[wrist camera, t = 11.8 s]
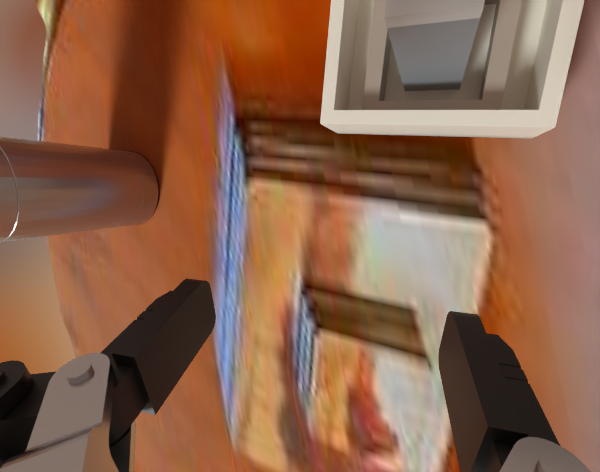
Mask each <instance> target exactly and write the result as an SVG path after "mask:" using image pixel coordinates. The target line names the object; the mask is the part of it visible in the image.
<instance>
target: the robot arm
mask: <svg viewBox="0 0 600 472" xmlns="http://www.w3.org/2000/svg"><path fill="white" fill-rule="evenodd" d="M157 201H158V183H157V179H156V176H155V173H154V171H153V169H152V167H151V165H150V164H149V162H148V161H147V160H146V159H145V158H144V157H142V156H141V155H139V154H137V153H134V152H129V151H120V150H111V149H103V148H95V147H87V146H78V145H69V144H60V143H52V142H43V141H34V140H26V139H17V138H8V137H0V242H5V241H12V240H20V239H28V238H36V237H43V236H51V235H59V234H67V233H74V232H82V231H90V230H97V229H105V228H113V227H121V226H128V225H136V224H141V223H144V222H146V221H147V220H148V219H149V218H150V217H151V216H152V214H153V213H154V211H155V208H156V206H157ZM215 319H216V315H215V309H214V304H213V299H212V293H211V288H210V284H209V283H208V282H207V281H203V280H194V279H185V280H184V281H183V282H182V283H181V284H180V285H179V286H178V287H177V288H176V289H175V290H174V291H169V292H168V293H166V294H164V295H162V296H161V297H159V298H157V299H156V300H155V301H154V302H153V303H152V304H151V305H150V306H149V307H148V308H147V309H146V311H143V312H142V313H141V314H140V315H139V316H138V317H137V320H134V321H133V322H132V323H131V324H130V325H129V326H128V327H127V328H126V329H125V330H124V331H123V332H122V333H121V334H120V335H119V336H118V337H117V338H116V339H114V340H113V341H112V342H111V343H110V344H109V345H108V346H107V347H106V348H105V349H104V350H103V351H102V352H101V353H90V354H86V355H83V356H80V357H77V358H75V359H73V360H71V361H69V362H68V363H67V364H65V365H63V366H62V367H61V368H60V369H59V370H58V371H56V372H49V373H39V374H30V373H29V372H28V370H27V368H26V366H25V365H24V363H22V362H20V361H7V362H2V363H0V472H135V449H136V423H135V419H136V418H137V416H138V415H139V413H140V412H145V413H150V414H154V415H156V413H157V412H158V410H159V409H160V407H161V406H162V404H163V403H164V402H165V400H166V399H167V397H168V396H169V394H170V393H171V391H172V390H173V388H174V387H175V385H176V384H177V382H178V381H179V379H180V378H181V376H182V375H183V373H184V372H185V371H186V369H187V368H188V366H189V365H190V363H191V362H192V360H193V359H194V357H195V356H196V354H197V353H198V351H199V350H200V348H201V347H202V345H203V344H204V342H205V341H206V340H207V338H208V337H209V335H210V334H211V332H212V330H213V328H214V325H215ZM439 370H440V375H441V379H442V384H443V389H444V394H445V399H446V404H447V409H448V414H449V419H450V424H451V428H452V433H453V438H454V443H455V448H456V453H457V458H458V463H459V468H460V472H590V470H589V469H588V468H587V467H586V466H585V465H584V464H583V463H582V462H581V461H580V460H579V459H578V458H577V457H575V456H574V455H573V454H572V453H570V452H569V451H567V450H566V449H564V448H563V447H561V446H560V444H559V442H558V441H557V439H556V437H555V435H554V433H553V431H552V429H551V427H550V425H549V422H548V420H547V418H546V416H545V414H544V412H543V410H542V408H541V406H540V404H539V402H538V400H537V398H536V396H535V394H534V392H533V390H532V388H531V386H530V384H528V380H527V378H526V376H525V374H524V372H523V370H521V366H520V364H519V362H518V360H517V358H516V356H515V354H514V352H513V350H512V349H511V348H510V347H509V346H508V345H507V344H506V343H505V342H504V341H503V340H502V339H501V338H500V337H499V336H498V335H495V334H487V333H486V332H485V329H484V327H483V324H482V322H481V320H480V318H479V316H478V315H477V314H469V313H461V312H453V311H450V312H449V313H448V315H447V318H446V323H445V327H444V331H443V335H442V340H441V344H440V348H439Z"/></svg>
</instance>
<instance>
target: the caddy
mask: <svg viewBox="0 0 600 472" xmlns="http://www.w3.org/2000/svg"><path fill="white" fill-rule="evenodd" d="M583 4H584V0H485V2H484V7H483V11H482V14H481V17H480V21H479V24H478V28H477V31H476V35H475V38H474V41H473V45H472V48H471V52H470V55H469V59H468V62H467V66H466V69H465V72H464V76H463V79H462V83H461V86H460V89H456V90H428V91H405V90H404V87H403V83H402V79H401V76H400V72H399V69H398V65H397V62H396V58H395V54H394V51H393V47H392V44H391V40H390V37H389V33H388V29H387V26H386V22H385V19H384V15H385V6H386V0H331V9H330V20H329V32H328V43H327V54H326V65H325V76H324V88H323V99H322V110H321V121H320V124H322V125H323V126H325V127H327V128H329V129H331V130H332V131H334V132H336V133H345V134H382V135H419V136H456V137H493V138H530V139H532V138H534V137H536V136H538V135H540V134H542V133H544V132H546V131H549V130H551V129H553V128H555V126H556V122H557V117H558V113H559V109H560V104H561V100H562V96H563V91H564V87H565V83H566V78H567V74H568V69H569V65H570V61H571V56H572V52H573V48H574V43H575V39H576V35H577V30H578V26H579V22H580V17H581V13H582V9H583Z"/></svg>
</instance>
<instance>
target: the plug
mask: <svg viewBox="0 0 600 472" xmlns="http://www.w3.org/2000/svg"><path fill="white" fill-rule="evenodd" d="M484 2H485V0H386V6H385V15H384V19H385V22H386V26H387V29H388V33H389V37H390V40H391V44H392V47H393V51H394V54H395V58H396V62H397V65H398V69H399V72H400V76H401V79H402V83H403V87H404V90H405V91H428V90H456V89H460V86H461V83H462V79H463V76H464V72H465V69H466V66H467V62H468V59H469V55H470V52H471V48H472V45H473V41H474V38H475V35H476V31H477V28H478V24H479V21H480V17H481V14H482V11H483V7H484Z"/></svg>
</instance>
